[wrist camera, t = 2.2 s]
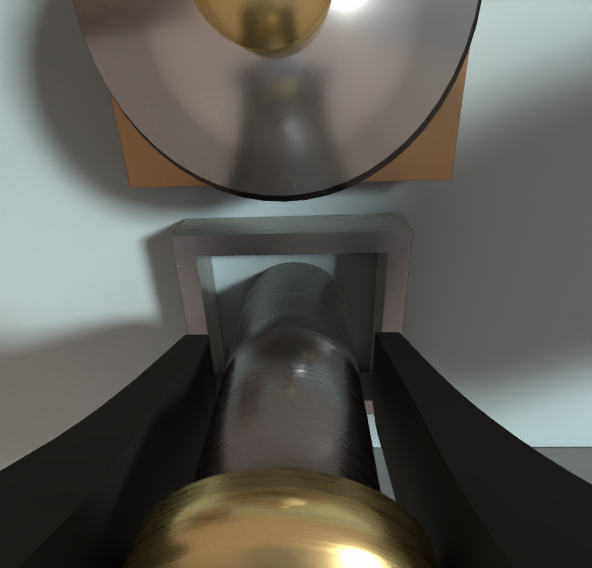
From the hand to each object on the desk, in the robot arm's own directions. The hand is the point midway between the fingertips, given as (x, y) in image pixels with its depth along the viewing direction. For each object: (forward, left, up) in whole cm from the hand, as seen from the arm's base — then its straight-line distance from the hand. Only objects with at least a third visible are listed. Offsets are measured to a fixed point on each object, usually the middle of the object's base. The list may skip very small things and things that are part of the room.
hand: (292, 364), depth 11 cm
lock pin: (0, 0, -3) cm, 3 cm away
